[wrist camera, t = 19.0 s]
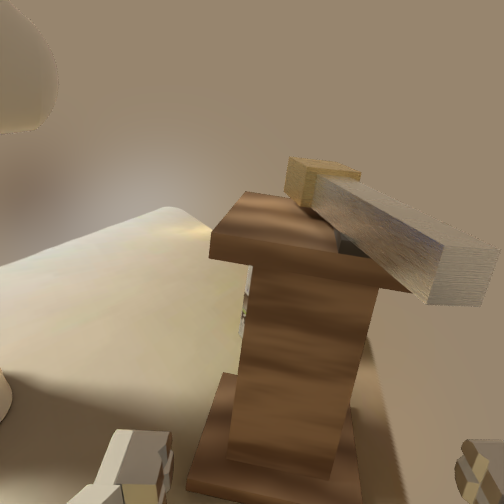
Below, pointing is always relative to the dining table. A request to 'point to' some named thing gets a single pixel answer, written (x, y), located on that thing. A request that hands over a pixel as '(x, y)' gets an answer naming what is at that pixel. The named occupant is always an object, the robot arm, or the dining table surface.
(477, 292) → the grey and tan bar
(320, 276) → the scale stand
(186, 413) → the dining table surface
